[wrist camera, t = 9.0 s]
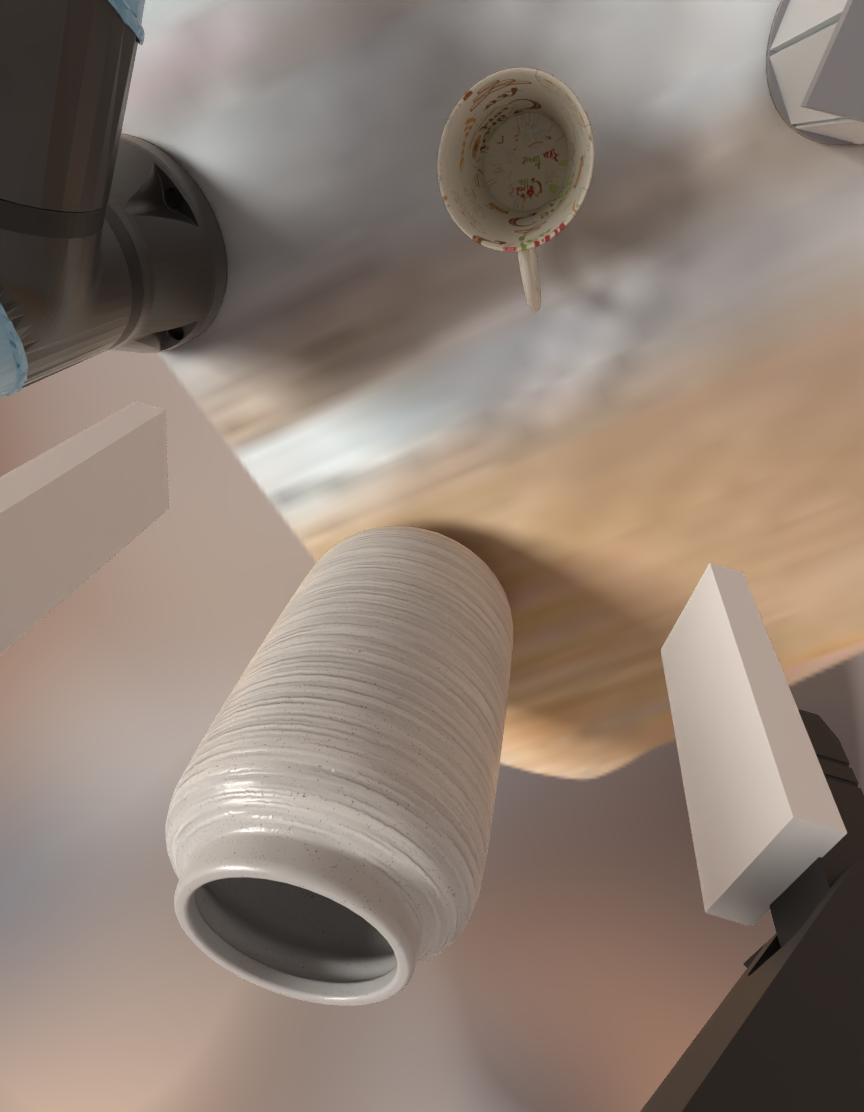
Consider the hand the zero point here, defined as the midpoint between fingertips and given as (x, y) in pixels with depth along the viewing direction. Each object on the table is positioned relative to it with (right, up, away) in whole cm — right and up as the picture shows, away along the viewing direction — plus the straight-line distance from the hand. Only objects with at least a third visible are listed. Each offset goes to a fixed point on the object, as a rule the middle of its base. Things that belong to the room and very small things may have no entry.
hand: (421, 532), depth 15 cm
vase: (-1, -4, +47) cm, 48 cm away
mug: (+7, +24, +28) cm, 37 cm away
